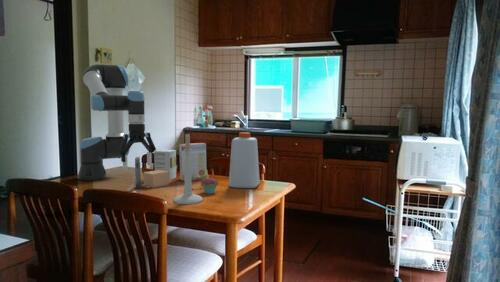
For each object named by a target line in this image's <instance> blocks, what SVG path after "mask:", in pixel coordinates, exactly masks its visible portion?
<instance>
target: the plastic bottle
mask: <svg viewBox="0 0 500 282" xmlns="http://www.w3.org/2000/svg"><path fill="white" fill-rule="evenodd" d="M229 160H230V161H229V162H230V163H229V174H228V176H229V177H228V185H229V187H230V188H236V189H255V188H257V187H258V185H259V184H260V182H261V180H260V167H259V166H260V164H259V150H258V139H257V138H256V137H251V132H247V131H245V132H239V133H238V137H233V139H232V140H231V147H230V159H229Z"/></svg>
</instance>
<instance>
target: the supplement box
mask: <svg viewBox="0 0 500 282" xmlns="http://www.w3.org/2000/svg"><path fill="white" fill-rule="evenodd" d="M153 155H154V156H153V159H154V165H153V166H154V171H155V170H164V171H169V181H171V180H173V179H175V178H176V177H177V150H176V149H160V150H156V151H154V152H153Z"/></svg>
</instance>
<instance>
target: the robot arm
mask: <svg viewBox="0 0 500 282" xmlns="http://www.w3.org/2000/svg"><path fill="white" fill-rule="evenodd" d="M81 77H82V82H83V84H84V85H85V86H86V87H87V89H88V90H89V92H90V94H91V97H90V109H91V110H92V111H96V112H97V111H99V112H104V111H105V112H106V111H107V131H108V132H107V134H106V135H105V138H103V136H93V137H87V138H83V139H81V141H80V142H79V149H80V167H79V170H78V175H77V179H78V180H80V181H97V180H99V181H100V180H103V179H106V178H108V177H107V171H106V169H105V166H104V161H103V160H108V159H109V160H110V159H120V161H121V163H122V169H124V170H128V169H129V167H128V166H129V165H128V155H129V153H130V149H131V147H132V146H133V145H134V144H136V143H138V144H139V143H141V144H142V145H143V147H144V148H145V149H146V150H147V152H146V165H147V166H152V164H153V162H152V159H154V156H153V155H154V151H157V148H156V146H155V144H154V141H153V139H152V136H151V132H145V131H146V125H145V122H146V121H145V120H146V119H145V114H146V113H145V99H146V98H145V92H144V91H142V90H129V91H128V92H127V95H123V92H124V91H125V90H126V87H127V86H128V85H129V73H128V70H127V69H126V67H125V66H123V65H118V64H116V65H115V64H92V65H90V66H88V67H87V68H86V69H84V71H83V73H82V75H81ZM124 111H127V116H128V120H127V121H128V134H126V133H125V130H124V127H125V126H124Z"/></svg>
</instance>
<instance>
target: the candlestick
mask: <svg viewBox="0 0 500 282" xmlns="http://www.w3.org/2000/svg"><path fill="white" fill-rule="evenodd" d="M184 137H185V138H184V139H185V141H184V144H185V149H184V151H185V154H186V159H185V181H184V185H183V186H184V188H183V189H184V191H183V194H180V195H177V196H175V197H174V198H173V203H174V204H176V205H195V204H199V203H202V202H203V201H204V199H203V197H202V196H201V195H198V194H195V193H193V183H192V180H191V165H190V154H191V150H192V149H190V143H191V135H190V134H189V133H186V134H184Z"/></svg>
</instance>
